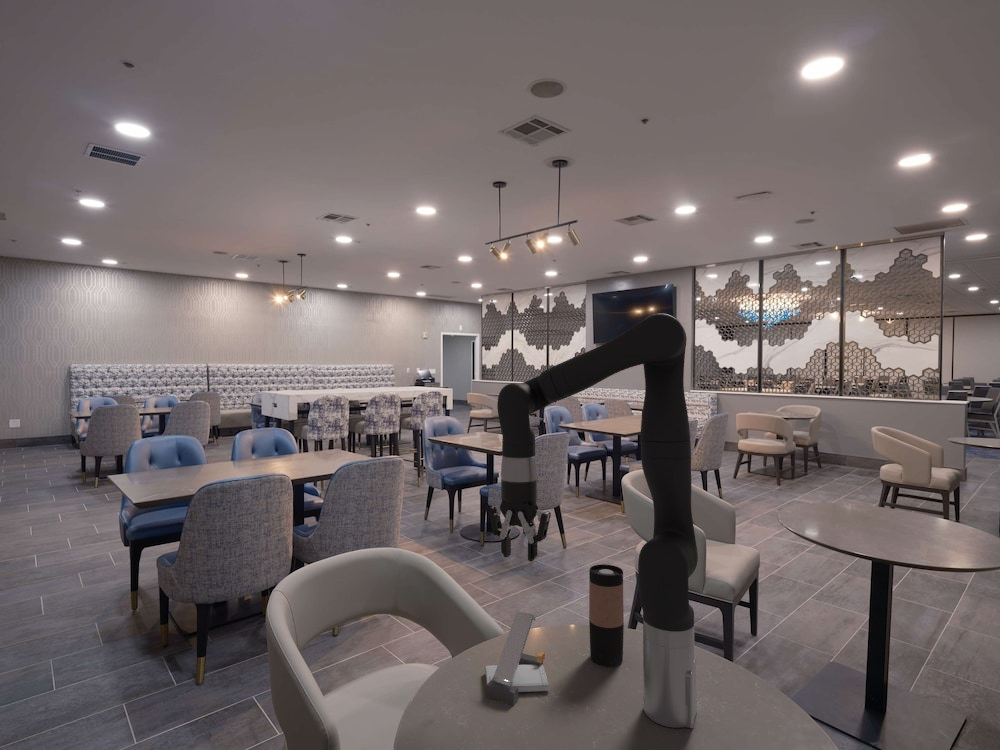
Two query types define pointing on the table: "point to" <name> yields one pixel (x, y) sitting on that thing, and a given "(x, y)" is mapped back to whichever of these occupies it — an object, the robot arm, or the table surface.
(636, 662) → the table surface
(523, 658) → the bracket
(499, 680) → the grey flat bar
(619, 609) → the travel mug
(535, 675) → the hard drive
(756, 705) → the table surface
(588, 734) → the table surface
